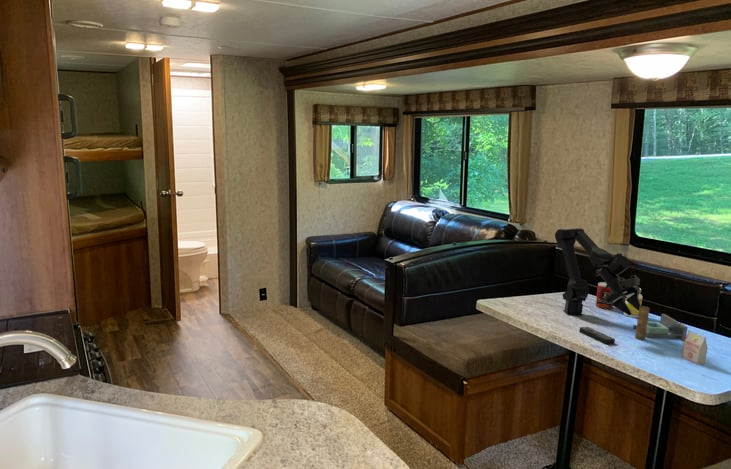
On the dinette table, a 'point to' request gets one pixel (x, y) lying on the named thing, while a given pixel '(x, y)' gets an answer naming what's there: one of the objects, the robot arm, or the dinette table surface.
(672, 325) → the rail and backstop frame
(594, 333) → the multiport hub
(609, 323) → the dinette table surface
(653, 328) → the sliding socket block
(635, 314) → the supplement bottle
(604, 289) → the canned food
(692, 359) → the gable top carton
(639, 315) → the walnut dowel
